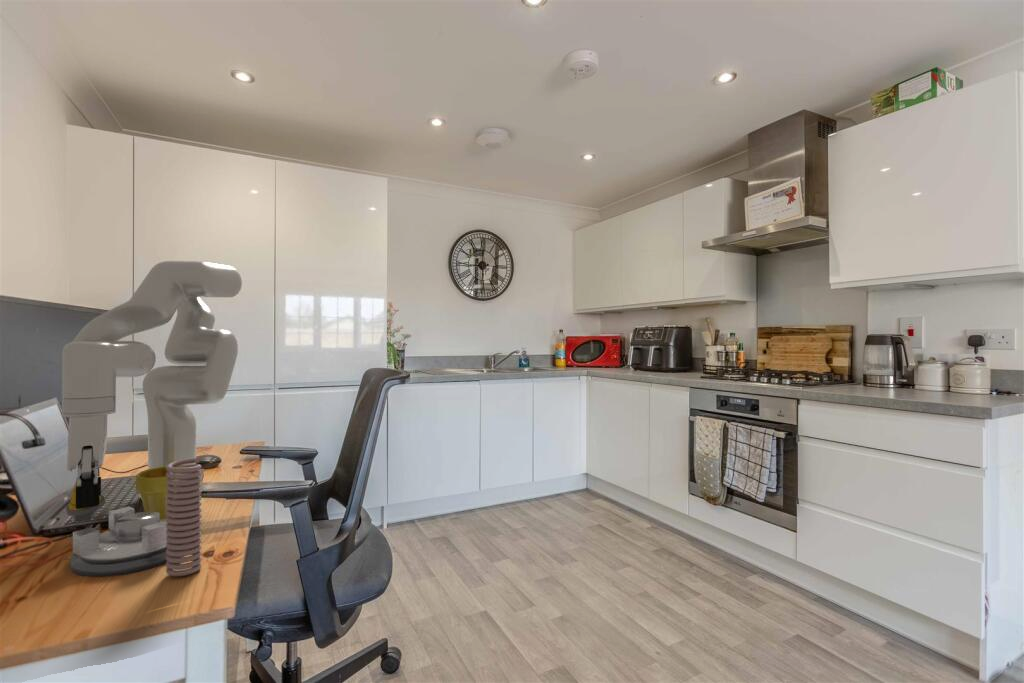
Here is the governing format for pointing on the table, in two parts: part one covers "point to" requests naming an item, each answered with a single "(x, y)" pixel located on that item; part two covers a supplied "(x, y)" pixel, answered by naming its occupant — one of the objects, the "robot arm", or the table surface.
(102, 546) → the steel lathe chuck
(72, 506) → the stepped yellow cone
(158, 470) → the plant pot
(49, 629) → the table surface
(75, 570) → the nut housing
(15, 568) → the table surface
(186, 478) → the coil
